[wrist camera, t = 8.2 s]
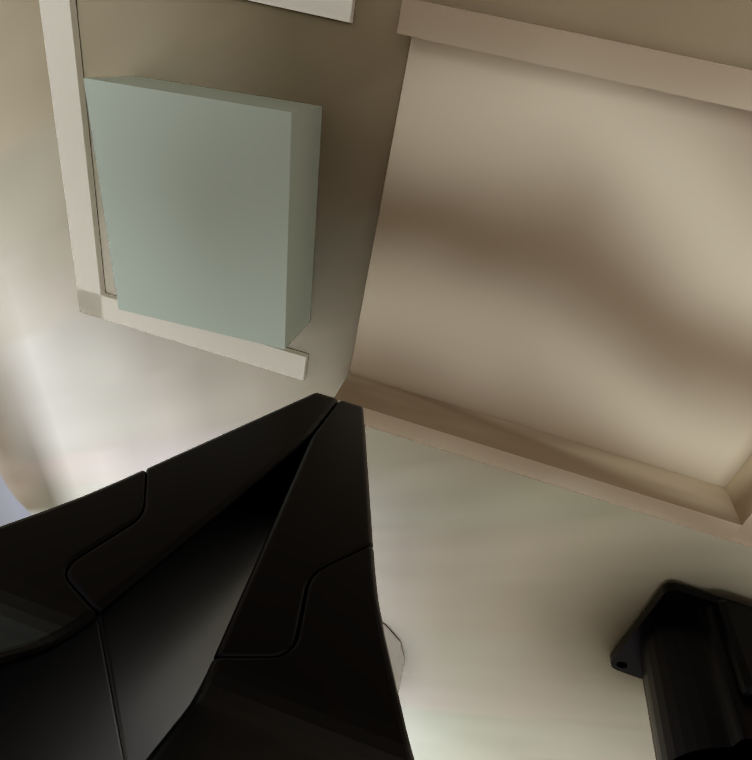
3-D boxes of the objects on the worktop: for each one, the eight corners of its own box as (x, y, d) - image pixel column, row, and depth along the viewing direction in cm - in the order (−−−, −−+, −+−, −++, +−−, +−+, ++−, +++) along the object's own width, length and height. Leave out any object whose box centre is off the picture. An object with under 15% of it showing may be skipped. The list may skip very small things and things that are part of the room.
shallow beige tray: (732, 500, 21) (752, 547, 19) (349, 383, 23) (331, 414, 21) (1015, 131, 14) (1099, 143, 12) (421, 5, 16) (402, -4, 14)
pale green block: (313, 317, 23) (284, 349, 20) (163, 283, 24) (118, 309, 21) (325, 105, 18) (291, 112, 16) (142, 75, 19) (83, 77, 17)
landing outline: (305, 377, 24) (303, 380, 23) (84, 309, 25) (80, 311, 25) (359, -25, 16) (356, -26, 16) (33, -93, 17) (26, -95, 17)
